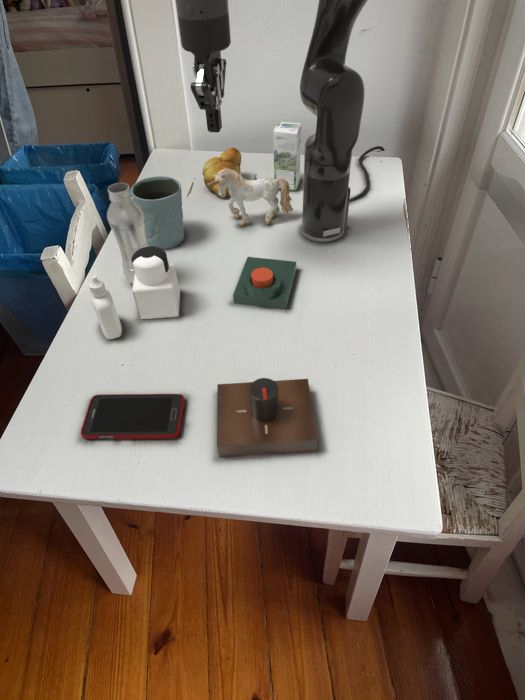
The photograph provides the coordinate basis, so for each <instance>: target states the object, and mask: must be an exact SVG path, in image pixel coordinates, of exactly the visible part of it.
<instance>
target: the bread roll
mask: <svg viewBox="0 0 525 700" xmlns="http://www.w3.org/2000/svg"><path fill="white" fill-rule="evenodd" d="M241 164H242V154H241V152H240V150H239V149H238V148H236V147H229V148H227V149H225V150H224V151H223V152H222V153H220V155H219V157H218V156H214V157H212V158H209V159H208V160H206V161H205V162H204V165H203V167H202V176H203V182H204V186H205V187H206V188H207V189H208V190H210V191H211V192H214V193H215V194H216V195H217V196H219V188H218V186H217V185H216V184H213V185H208V183H211V182H213V181H215V179H216V178H215V177H213V176H212V175H217V173H218V172H219V171H221V170H223V169H225V168H228V169H230V170H234V171H235V172H237V173H239V174H240V175H241ZM225 192H226V195H225V197H228V196H229V197H230V194H229V188H228V186H227V187H226V190H225Z"/></svg>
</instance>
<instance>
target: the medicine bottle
mask: <svg viewBox="0 0 525 700" xmlns="http://www.w3.org/2000/svg"><path fill="white" fill-rule="evenodd" d="M131 261H132V265H133V268H134V272H135V276H134V282H133V284H132V289H131V291H132V295H133V298H134V301H135V305H136V308H137V311H138V315H139V318H140V320H151V319H163V318H175V317H176V318H177V317H179V316H180V302H181V290H180V285H179V280H178V275H177V270H176V269H177V268H176V264H175V263H169V260H168V255H167V252H166V251H165V249H161V248H159V247H155V246H149V247H144V248H141V249H139V250H137V251H136V252H135V253H134V254H133V256H132V258H131Z"/></svg>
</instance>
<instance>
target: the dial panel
mask: <svg viewBox="0 0 525 700" xmlns="http://www.w3.org/2000/svg"><path fill="white" fill-rule="evenodd" d="M273 381H274V382H275V383H276V384H277V386H278V414H277V416H276V417H275V418H274V419H272V420H270V421H260V420H257V419H256V418H255V417H254V416H253V415H252V413H251V402H250V386H251V384H252V383H253V382H254V381H249V382H248V381H247V382H234V383H218V384H217V385H216V386H217V389H216V391H217V393H216V396H217V397H216V401H217V402H216V449H217V454H218V457H219V458H225V457H238V456H255V455H269V454H285V453H301V452H302V453H303V452H317V447H318V435H317V428H316V422H315V415H314V409H313V403H312V402H313V401H312V396H311V390H310V384H309V383H310V382H309V378H299V379H298V378H297V379H281V380H279V379H278V380H273Z"/></svg>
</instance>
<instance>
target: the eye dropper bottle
mask: <svg viewBox="0 0 525 700" xmlns="http://www.w3.org/2000/svg"><path fill="white" fill-rule="evenodd" d="M88 288H89V291H90V293H91V294H90V301H91V305H92V308H93V310H94V313H95V316H96V318H97V321H98V322H99V326H100V329H101V331H102V333H103V335H104V337H105V338H106V339H107V340H114V339H118V338H120V337H121V336H122V333H123V327H122V323H121V320H120V317H119V313H118V311H117V308H116V305H115V302H114V300H113V296H112V294H111V292H110V290H108V289H107V288H106V286H105V282H104V280H103V279H98V277H97V275H91V281H90V282H89V283H88Z"/></svg>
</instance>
